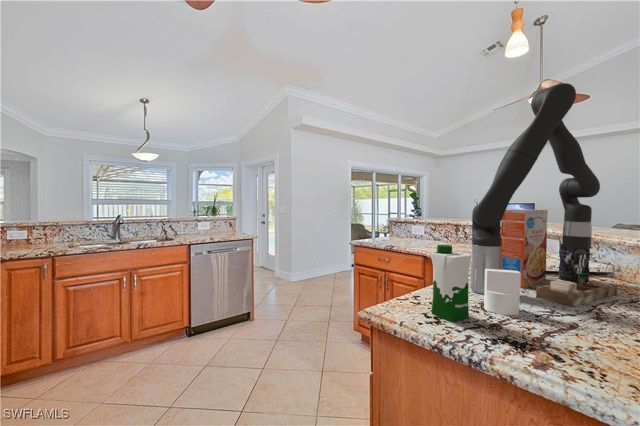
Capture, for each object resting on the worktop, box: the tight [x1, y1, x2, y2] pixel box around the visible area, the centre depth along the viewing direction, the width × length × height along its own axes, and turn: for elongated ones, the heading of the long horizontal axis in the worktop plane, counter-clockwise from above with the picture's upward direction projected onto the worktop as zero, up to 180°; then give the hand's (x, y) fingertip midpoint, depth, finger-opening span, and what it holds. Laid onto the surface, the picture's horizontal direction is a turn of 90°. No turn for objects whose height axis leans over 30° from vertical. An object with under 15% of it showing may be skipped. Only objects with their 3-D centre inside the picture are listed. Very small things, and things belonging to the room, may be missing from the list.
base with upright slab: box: [483, 269, 521, 316], centre depth 86 cm, size 9×9×12 cm
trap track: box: [535, 278, 618, 308], centre depth 99 cm, size 30×10×4 cm, turn 114°
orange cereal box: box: [500, 209, 548, 290], centre depth 118 cm, size 23×8×30 cm, turn 124°
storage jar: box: [558, 243, 591, 283], centre depth 120 cm, size 10×10×15 cm
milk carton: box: [430, 244, 472, 323], centre depth 81 cm, size 9×9×20 cm
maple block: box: [549, 279, 577, 294], centre depth 95 cm, size 5×5×4 cm
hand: (574, 283), depth 100 cm, fingers closed
